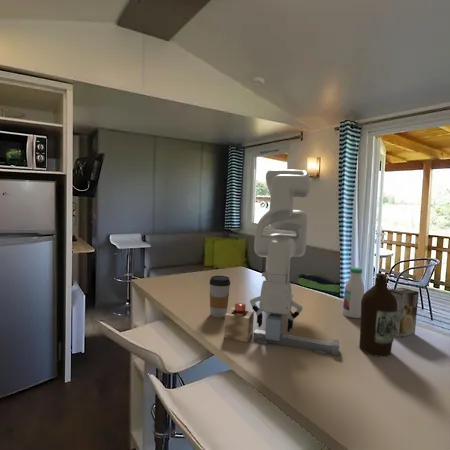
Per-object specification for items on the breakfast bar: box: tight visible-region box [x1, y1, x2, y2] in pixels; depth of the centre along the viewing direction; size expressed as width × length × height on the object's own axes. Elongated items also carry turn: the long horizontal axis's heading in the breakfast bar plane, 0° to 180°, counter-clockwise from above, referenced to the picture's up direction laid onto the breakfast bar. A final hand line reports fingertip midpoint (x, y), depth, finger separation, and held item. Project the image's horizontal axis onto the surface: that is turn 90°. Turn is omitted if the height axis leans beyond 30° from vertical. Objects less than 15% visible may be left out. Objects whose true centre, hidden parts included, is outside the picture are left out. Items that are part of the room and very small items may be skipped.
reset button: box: [234, 302, 247, 316], centre depth 117 cm, size 4×4×5 cm
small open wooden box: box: [223, 307, 255, 343], centre depth 117 cm, size 8×8×8 cm
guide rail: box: [252, 328, 340, 357], centre depth 112 cm, size 27×6×3 cm, turn 72°
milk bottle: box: [342, 267, 365, 319], centre depth 142 cm, size 8×8×20 cm
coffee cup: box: [209, 275, 231, 318], centre depth 136 cm, size 8×8×15 cm
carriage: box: [265, 312, 284, 341], centre depth 113 cm, size 4×7×8 cm, turn 162°
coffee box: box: [388, 287, 419, 338], centre depth 126 cm, size 9×6×16 cm
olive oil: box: [359, 272, 397, 357], centre depth 110 cm, size 11×11×25 cm
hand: (274, 327), depth 114 cm, fingers open, 9 cm apart
